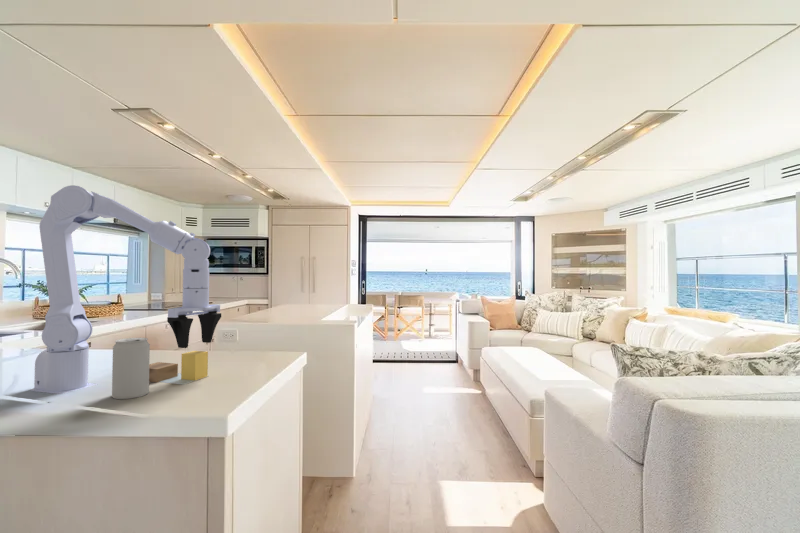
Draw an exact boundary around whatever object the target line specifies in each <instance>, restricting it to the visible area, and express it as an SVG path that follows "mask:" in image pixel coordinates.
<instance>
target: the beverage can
mask: <svg viewBox="0 0 800 533" xmlns="http://www.w3.org/2000/svg"><path fill="white" fill-rule="evenodd" d="M148 340H149V338H147V337H129V338H120V339H115V341H114V343H115V344H114V345H113V346H112V366H111V368H112V371H111V372H112V373H111V375H112V376H111V381H112V382H111V397H112V398H113V399H115V400H129V399H130V400H131V399H137V398H141V397H143V396H146V395H148V394H149V392H150V382H149V364H150V359H151V358H150V357H151V356H150V352H151V351H150V350H151V346H150V345H151V344H150V343H149V341H148Z"/></svg>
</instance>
